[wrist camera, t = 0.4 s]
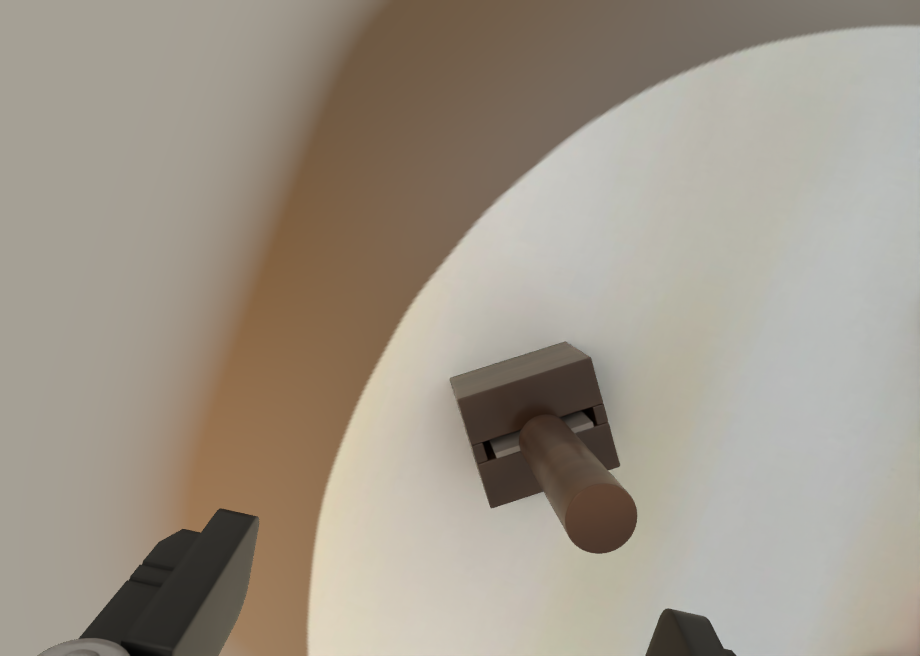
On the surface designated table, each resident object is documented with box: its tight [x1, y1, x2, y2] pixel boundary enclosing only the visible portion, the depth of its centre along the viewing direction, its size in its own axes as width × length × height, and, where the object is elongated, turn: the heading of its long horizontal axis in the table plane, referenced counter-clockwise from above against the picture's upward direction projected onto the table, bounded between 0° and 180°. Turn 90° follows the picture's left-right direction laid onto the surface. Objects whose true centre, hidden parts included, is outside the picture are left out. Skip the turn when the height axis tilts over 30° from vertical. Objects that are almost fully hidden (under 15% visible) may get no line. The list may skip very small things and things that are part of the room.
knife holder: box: [450, 342, 620, 508], centre depth 35 cm, size 6×7×5 cm
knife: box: [489, 411, 637, 554], centre depth 30 cm, size 3×5×15 cm, turn 107°
